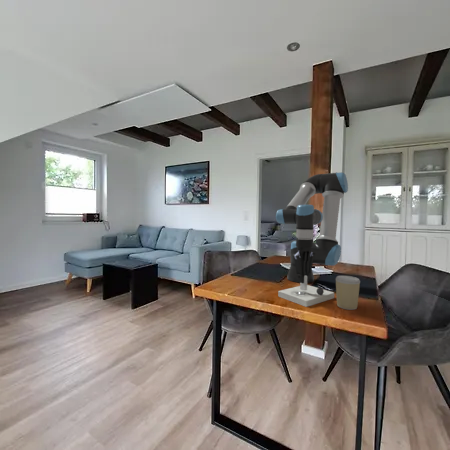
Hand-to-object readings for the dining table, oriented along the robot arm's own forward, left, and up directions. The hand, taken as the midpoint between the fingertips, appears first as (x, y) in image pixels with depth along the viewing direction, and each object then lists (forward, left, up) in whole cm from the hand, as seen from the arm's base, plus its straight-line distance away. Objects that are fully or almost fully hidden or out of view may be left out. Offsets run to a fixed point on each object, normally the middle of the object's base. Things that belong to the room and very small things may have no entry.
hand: (303, 289), depth 118 cm
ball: (-4, +6, 0) cm, 7 cm away
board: (-2, 0, -4) cm, 4 cm away
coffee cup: (-7, +17, -4) cm, 19 cm away
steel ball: (+2, 0, -2) cm, 3 cm away
